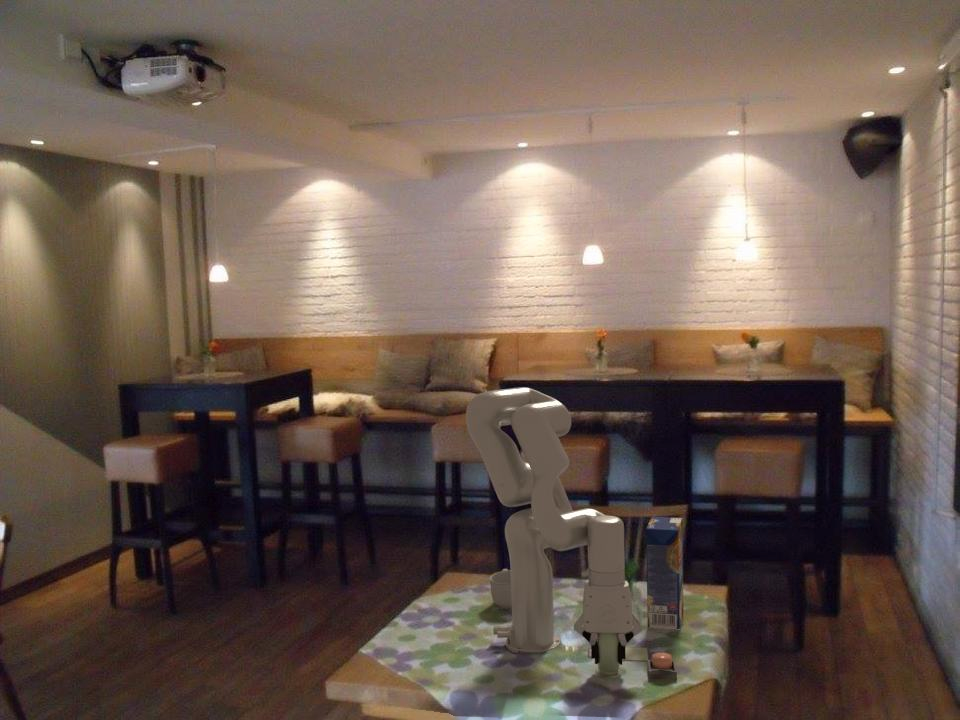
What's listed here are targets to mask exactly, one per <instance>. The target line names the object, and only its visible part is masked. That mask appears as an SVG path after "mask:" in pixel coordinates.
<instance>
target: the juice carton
mask: <svg viewBox="0 0 960 720" xmlns="http://www.w3.org/2000/svg"><path fill="white" fill-rule="evenodd" d="M683 536H684V535H683V517H665V516H651V518H650V519H649V522H648V524H647V526H646V527H645V538H646V541H645V542H646V544H645V545H646V547H645V548H646V551H645V552H646V553H645V555H646V605H647V607H646V608H647V613H646V614H647V628H649V627H651V629H661V628H668V629H667V630H674V629H681V625H682V622H683V617H684V613H685V612H684V559H683V558H684V551H683V549H684V548H683V547H684V541H683Z"/></svg>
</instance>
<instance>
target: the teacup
mask: <svg viewBox="0 0 960 720" xmlns="http://www.w3.org/2000/svg"><path fill="white" fill-rule="evenodd" d="M489 581H490V593H491V599H492V601H493V602H494V603H495V604H496V605H497V606H499V608H502V609H503V610H512V595H511V569H508V568H503V569H501V571H498V572H494V573H493V574H492V575H490V576H489Z"/></svg>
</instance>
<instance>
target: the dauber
mask: <svg viewBox="0 0 960 720" xmlns="http://www.w3.org/2000/svg"><path fill="white" fill-rule="evenodd" d="M596 639H597V643H598V664H597V668H598V669H599V673H600V674H601V675H604V676H615V675H617V674H618V669H620V664H619V648H618V645H619V639H620V638H619V634H613V633H597V638H596Z"/></svg>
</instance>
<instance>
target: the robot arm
mask: <svg viewBox="0 0 960 720" xmlns="http://www.w3.org/2000/svg"><path fill="white" fill-rule="evenodd" d="M465 423H466V428H467V431H468V434H469V436H470V438H471V440H472V442H473V444H474V445H475V448H477V450H478V452H479V454H480V456H481V459H482V460H483V463H484V465H485V468H486V470H487V474H488V476H489V479H490V481H491V484H492V486H493V489H494V492H495V493H496V496H497V499H498V500H499V502H500V503H501V504H502V505H503V506H505V507H509V508H513V507H516V508H517V507H520V506H525V505H528V504H529V505H531V507H530V508H525V509H521V510H519V511H517V512H515V513H513V514H512V515H510V516H509V518H508V519H507V520H506V523H505V525H504V537H505V541H506V544H507V550H508V555H509V564H510V567H509V568H510V569H509V570H511V595H512V609H511V618H512V620H511V624H509V625H508V624H507V625H506V626H501V625H499V626H498V625H496V626H495V625H494V626H493V628H492V629H493V636H496V635H497V637H496V638H498V639H503V638H506V640H505V646H506V648H507V650H509V651H510V652H512V653H515V654H518V653H519V652H523V653H541V652H548V651H551V650H555V649H556V648H558V647H559V646H560V645H561V644H562V639H561V638H560V636H558V635H557V634H555V622H554V619H555V615H554V584H553V583H554V581H553V579H554V578H553V567H552V564H551V562H550V560H549V559H548V557H547V555H546V553H545V549H549V548H551V549H553V550H554V551H557V552H564V551H569V550H573V549H575V548H580V547H584V546H587V562H588V563H587V564H588V565H587V566H588V568H587V569H585V570H581V577H582V578H586V579H587V580H586V581H585V584H584V590H583V597H582V600H583V601H582V613H581V615H580V616H579V618H578V619H577V620H576V622H575V623H574V624H573V631H575V632H576V633H578V634H579V635H581V636H582V637H583V638H584V640H586V641H587V642H588V643H589V645H590V648H591V659H594V664H595V665H598V643H597V633H613V634H619V645H618V648H619V666H620V665H621V666H622V665H623V661H622V659H626V656H625V647H627V645H628V643H629V642H630V641H631V640H632V639H634V637H635V636H637V635H639V634H640V633H642V632H643V626H642V625H641V623H640V622H639V620H637V618H636V617H635V615H634V614H633V604H632V594H631V589H630V585H629V581H627V580H626V566H625V565H626V564H625V563H626V562H625V560H626V559H625V557H626V556H625V525H624V521H623V520H622V519H621V518H620V517H617V516H616V515H615V516H614V515H607V514H604V513H603V512H600V511H598V510H597V509H593V508H589V507H585V508H580V509H578V510H573V508H572V506H571V503H570V500H569V498H568V496H567V493H566V490H565V487H564V486H563V483H562V481H561V478H560V477H559V476H561V475H562V474H563V473H564V472H565V471H566V470H567V469H568V468H569V466H570V458H569V457H568V454H567V452H566V451H565V448H564V446H563V444H562V442H561V440H560V437H563V436H566V435H567V434H568V433H569V432H570V429H571V427H572V417H571V413H570V412H569V410H568V409H567V407H566V405H565V404H563V403H562V402H560V401H559V400H557V399H556V398H554V397H552V396H549V395H547V394H544V393H543V392H540V391H538V390H535V389H533V388H530V387H523V386H522V387H521V386H520V387H513V388H504V389H495V390H488V391H484V392H481V393H478V394H476V395H475V396H473V397H472V398H471V399H470V401H469V402H468V404H467V407H466V411H465ZM503 426H511V427H512V431H513V433H514V435H515V437H516V439H517V441H518V444H519V446H520V448H521V451H522V452H523V455H524V457H525V459H526V461H527V462H525V461H524V460H523V458H522V456H521V454H520V451H519V449H518V446H517V444H516V443H515V442H514V440H513V439H512V438H511V436H509V435H508V434H507V433H506V432H505V431H503V430H502V429H501V427H503Z"/></svg>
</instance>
